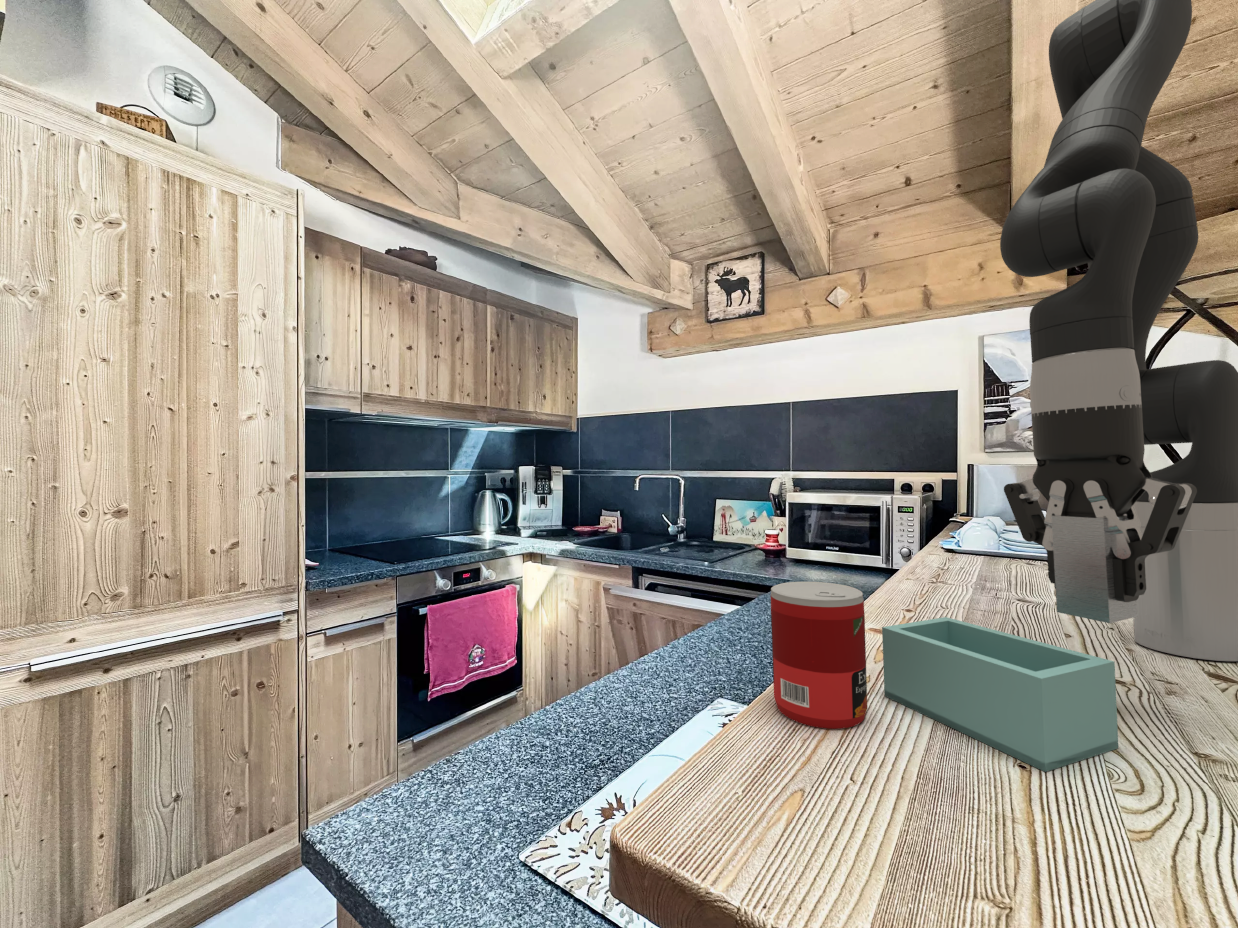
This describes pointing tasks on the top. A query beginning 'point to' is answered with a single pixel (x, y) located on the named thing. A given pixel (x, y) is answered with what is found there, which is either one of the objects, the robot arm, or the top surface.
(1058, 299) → the robot arm
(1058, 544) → the grey upright brick
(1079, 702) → the box
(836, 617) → the canned food
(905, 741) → the top surface
